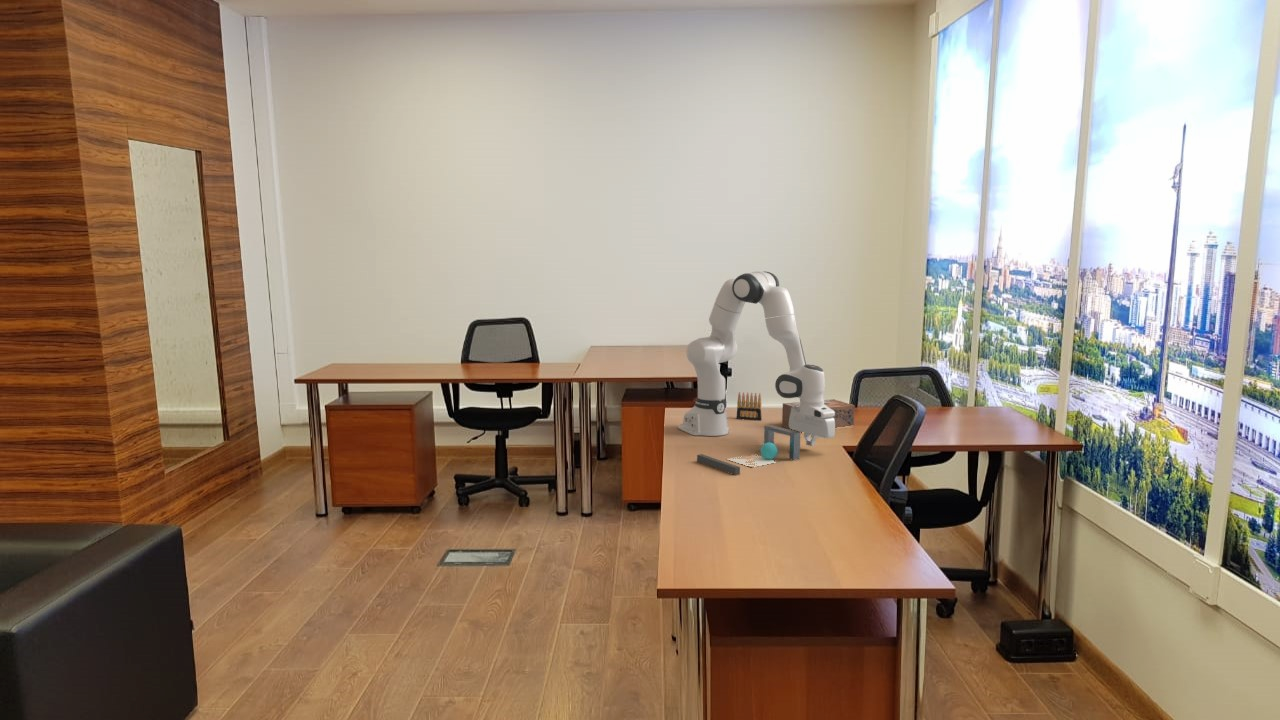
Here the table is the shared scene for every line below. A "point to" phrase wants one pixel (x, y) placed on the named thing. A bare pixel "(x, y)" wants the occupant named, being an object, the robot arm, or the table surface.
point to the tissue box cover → (841, 409)
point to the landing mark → (759, 462)
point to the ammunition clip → (747, 411)
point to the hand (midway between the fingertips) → (810, 445)
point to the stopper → (718, 464)
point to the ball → (769, 450)
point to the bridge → (793, 435)
